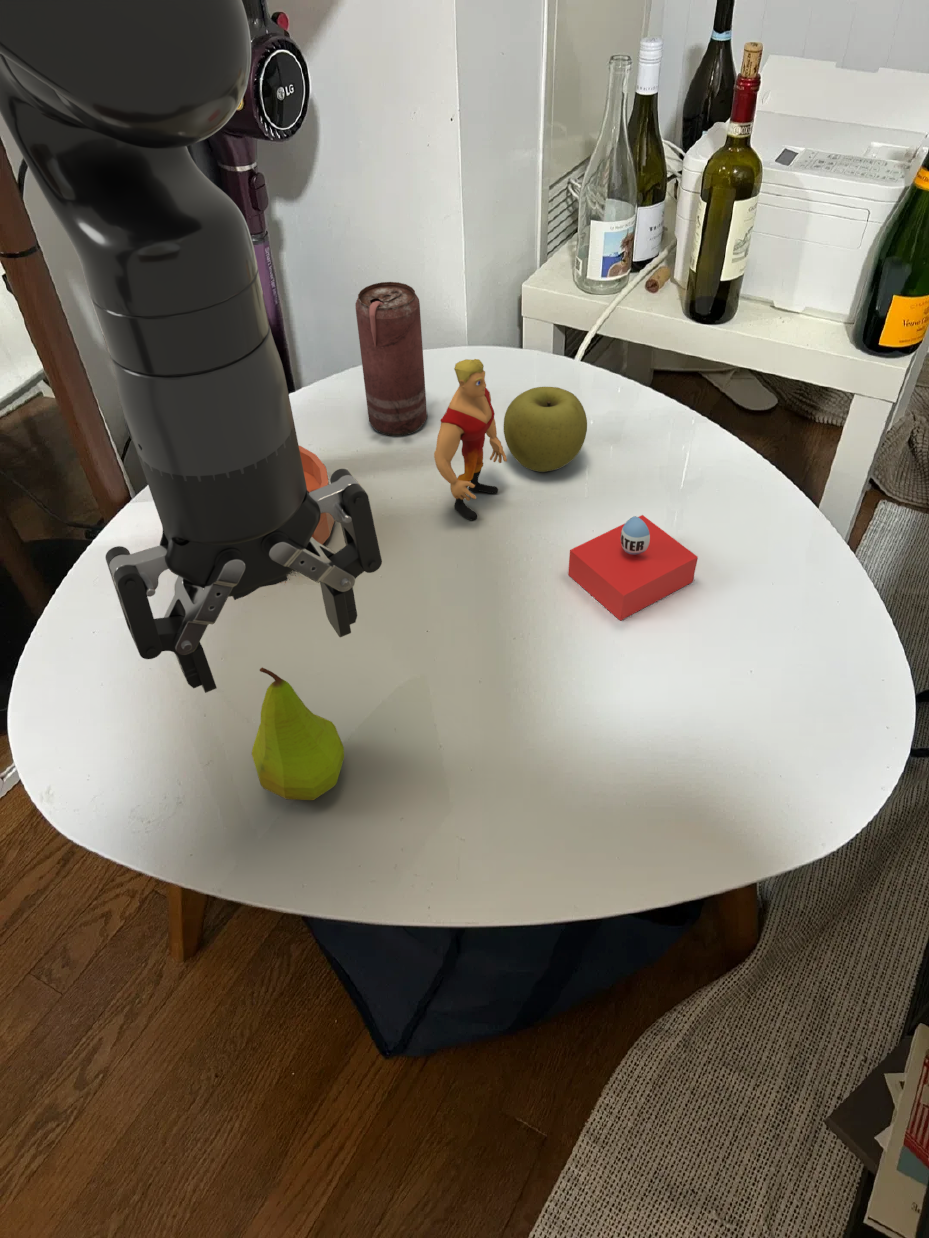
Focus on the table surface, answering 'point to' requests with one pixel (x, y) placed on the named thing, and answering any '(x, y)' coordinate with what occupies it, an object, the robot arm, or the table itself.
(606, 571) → the red rectangular block
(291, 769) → the fruit
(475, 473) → the action figure
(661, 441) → the table surface
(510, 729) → the table surface
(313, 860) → the table surface
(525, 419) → the apple
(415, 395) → the can
